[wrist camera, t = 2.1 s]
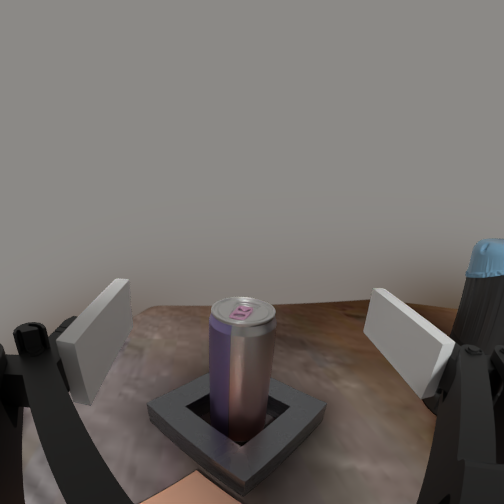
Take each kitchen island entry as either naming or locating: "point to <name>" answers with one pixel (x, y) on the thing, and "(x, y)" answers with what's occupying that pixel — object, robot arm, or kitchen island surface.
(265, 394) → the beverage can
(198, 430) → the socket block
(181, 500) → the terracotta tile
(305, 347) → the kitchen island surface
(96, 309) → the robot arm
